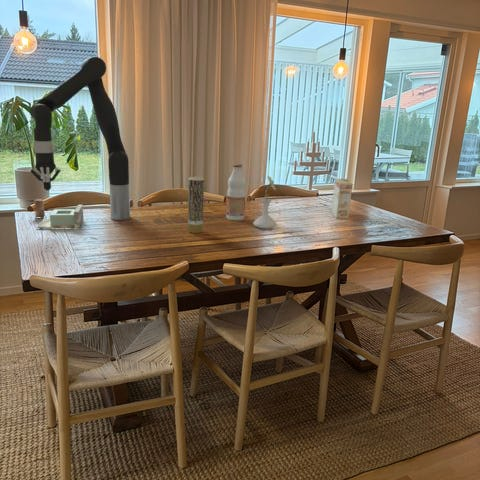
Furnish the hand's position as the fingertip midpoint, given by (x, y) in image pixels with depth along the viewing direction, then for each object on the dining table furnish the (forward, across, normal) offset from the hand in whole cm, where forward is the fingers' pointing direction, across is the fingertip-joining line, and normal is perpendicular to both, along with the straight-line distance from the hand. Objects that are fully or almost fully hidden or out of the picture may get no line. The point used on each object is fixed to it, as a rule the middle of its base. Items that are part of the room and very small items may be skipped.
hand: (47, 190), depth 206 cm
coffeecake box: (+18, -149, -14) cm, 150 cm away
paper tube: (+17, -65, +13) cm, 69 cm away
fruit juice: (+18, -88, -10) cm, 91 cm away
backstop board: (+16, -4, 0) cm, 17 cm away
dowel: (+16, +7, -14) cm, 23 cm away
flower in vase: (+18, -100, +6) cm, 102 cm away
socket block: (+15, -6, 0) cm, 17 cm away
